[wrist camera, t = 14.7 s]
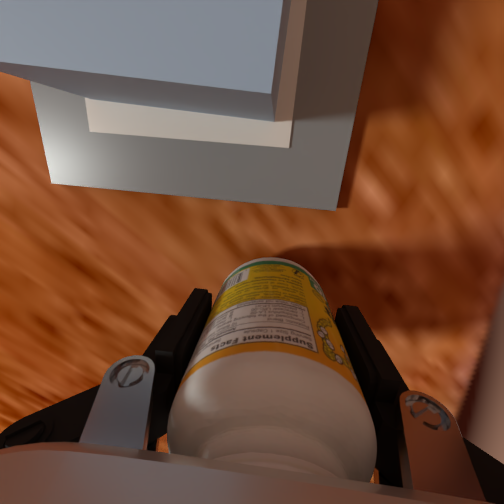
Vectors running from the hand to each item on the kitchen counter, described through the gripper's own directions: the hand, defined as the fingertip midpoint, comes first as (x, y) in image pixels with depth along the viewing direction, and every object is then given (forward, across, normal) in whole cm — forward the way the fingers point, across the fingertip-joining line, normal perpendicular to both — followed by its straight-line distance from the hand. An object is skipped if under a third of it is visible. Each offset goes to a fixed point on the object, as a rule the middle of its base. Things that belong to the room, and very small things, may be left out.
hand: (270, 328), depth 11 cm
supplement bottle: (+2, 0, 0) cm, 2 cm away
